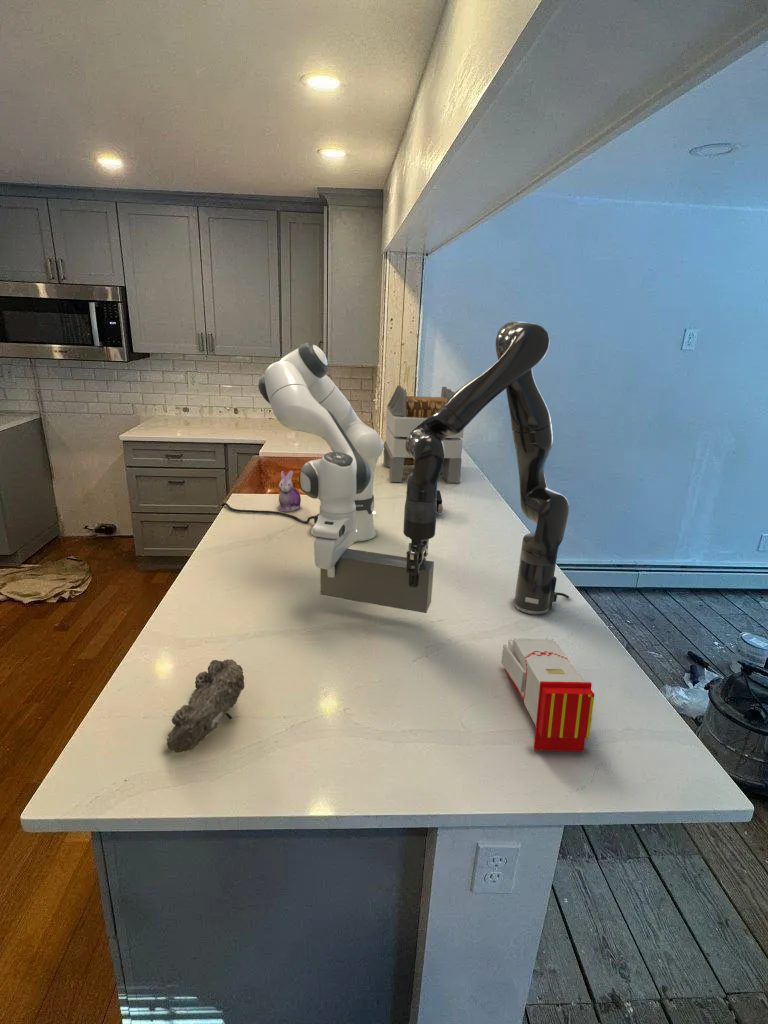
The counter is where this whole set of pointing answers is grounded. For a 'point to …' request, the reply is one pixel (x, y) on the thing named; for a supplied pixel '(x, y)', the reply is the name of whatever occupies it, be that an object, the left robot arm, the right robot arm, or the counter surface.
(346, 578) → the box
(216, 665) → the fossil
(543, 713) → the toy
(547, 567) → the right robot arm
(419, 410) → the stacked crate on legs
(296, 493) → the figurine
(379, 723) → the counter surface
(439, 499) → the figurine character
